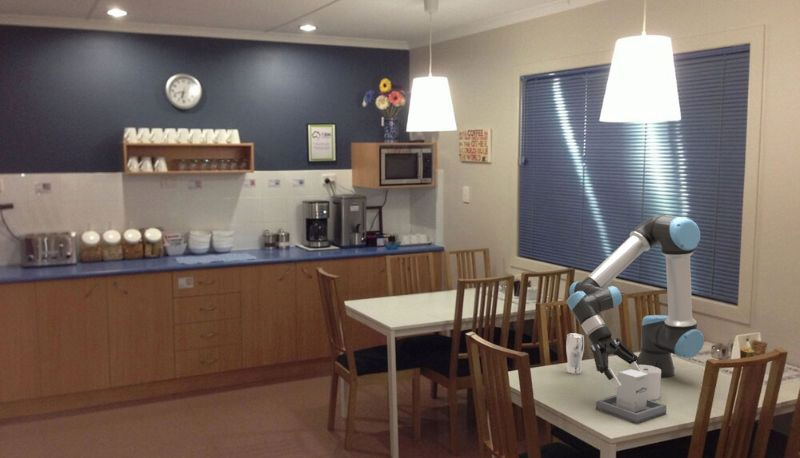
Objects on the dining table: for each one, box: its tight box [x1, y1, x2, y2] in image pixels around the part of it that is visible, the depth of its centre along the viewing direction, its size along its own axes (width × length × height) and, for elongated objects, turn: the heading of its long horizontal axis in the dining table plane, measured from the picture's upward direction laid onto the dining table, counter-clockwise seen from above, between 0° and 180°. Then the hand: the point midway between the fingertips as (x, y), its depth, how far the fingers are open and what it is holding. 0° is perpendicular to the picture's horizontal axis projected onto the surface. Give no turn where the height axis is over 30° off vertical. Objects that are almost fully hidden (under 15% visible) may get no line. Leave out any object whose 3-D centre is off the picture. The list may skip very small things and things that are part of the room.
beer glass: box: [565, 333, 585, 375], centre depth 293 cm, size 7×7×15 cm
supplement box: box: [616, 368, 648, 413], centre depth 249 cm, size 7×7×13 cm
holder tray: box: [595, 394, 667, 425], centre depth 249 cm, size 16×16×3 cm
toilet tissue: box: [638, 365, 662, 401], centre depth 265 cm, size 11×12×10 cm
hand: (630, 383), depth 248 cm, fingers open, 13 cm apart
